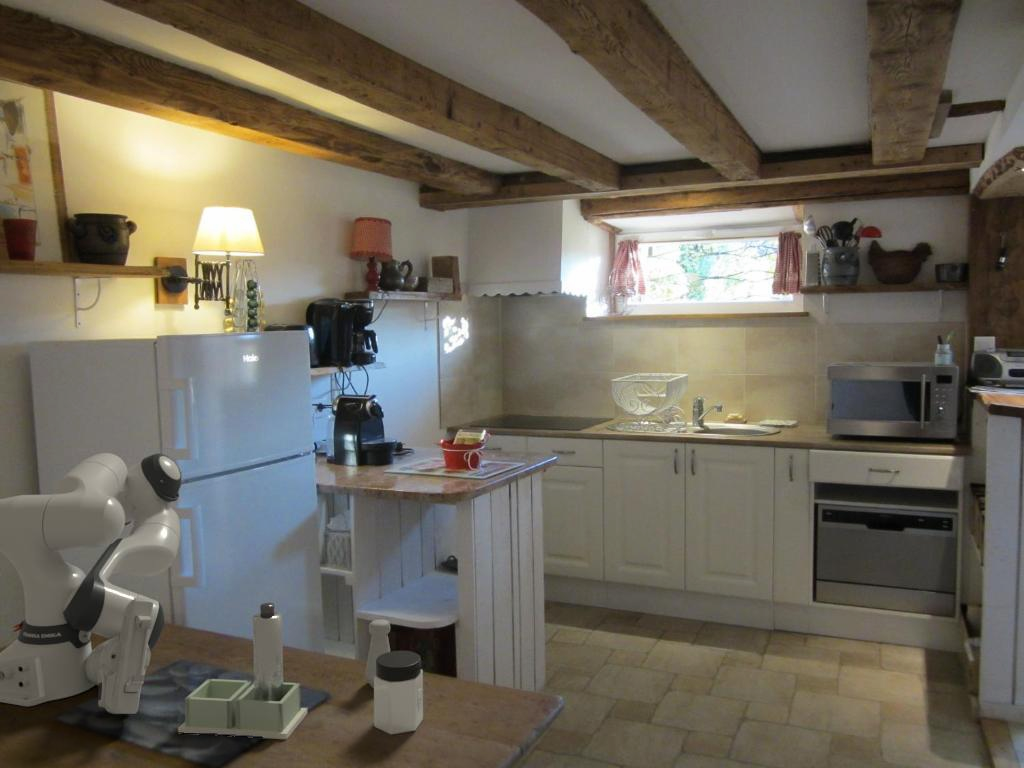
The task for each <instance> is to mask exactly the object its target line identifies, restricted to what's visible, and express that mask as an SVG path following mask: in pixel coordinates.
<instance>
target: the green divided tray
mask: <svg viewBox="0 0 1024 768" xmlns="http://www.w3.org/2000/svg"><path fill="white" fill-rule="evenodd" d="M301 686H302V685H301V683H300V682H286V681H285V682H284V681H283V698H282V699H281V701H261V700H255V698H254V683H253V680H244V679H243V680H242V679H241V680H239V679H222V678H221V679H220V678H208V679H206V680H205V681H204V682H203V683H201V685H199V686H197V688H196V689H194V690H193V691H192V692H191V693H190V694H188V695H187V696H186V697H185V698H184V717H185V718H184V721H183V723H181V724H180V725H179V726H178V727H177V733H178V732H184V733H217V734H229V735H230V734H236V735H250V736H251V735H252V736H262V737H263V738H262V739H271V740H272V739H277V740H287V739H289V737H291V735H292V733H294V731H295V730H296V729H297V727H298V726H299V724H301V722H302V721H303V720H304V718H305V717H306V715H308V707H301V705H302V704H301V703H302V702H301V701H302V697H301V694H302V693H301V690H302V689H301Z"/></svg>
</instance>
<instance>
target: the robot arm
mask: <svg viewBox="0 0 1024 768" xmlns="http://www.w3.org/2000/svg"><path fill="white" fill-rule="evenodd" d="M182 476H183V475H182V471H181V469H180V467H179V465H178V464H177V463H176V462H175V461H174V460H173V459H172V458H171V457H170V456H168V455H166V454H163V453H154V454H151V455H149V456H146V457H144V458H143V459H142V460H141V461H140V462H138V463H136V464H134V465H133V466H131V467H129V468H128V466H127V464H126V463H125V461H124V460H123V459H122V458H121V457H120V456H118V455H117V454H114V453H110V452H101V453H97V454H94V455H92V456H89V457H87V458H86V459H83V460H82V461H80V462H79V463H78V464H77V465H76V466H74V467H73V468H72V469H71V470H70V471H68V472H67V473H66V474H64V476H63V477H61V479H59V480H58V481H57V483H56V484H55V486H54V490H53V493H52V494H21V495H16V496H14V495H13V496H10V497H9V496H8V497H6V498H2V499H1V498H0V552H1V553H2V554H3V555H4V556H5V557H6V558H7V559H8V560H9V561H10V562H11V564H12V565H13V566H14V568H15V569H16V572H17V573H18V576H19V577H20V580H21V583H22V587H23V589H22V590H23V597H24V604H25V605H24V609H25V619H24V620H22V621H21V622H20V623H18V624H16V625H15V626H12V629H14V630H13V631H12V633H16V632H18V631H19V630H20V631H19V634H18V635H17V639H16V640H14V641H13V642H11V644H9V645H8V646H6V648H5V649H3V650H2V651H1V652H0V703H5V704H11V705H14V706H15V705H17V706H21V707H33V706H36V705H40V704H43V703H46V702H50V701H55V700H56V701H57V700H60V699H64V698H65V699H66V698H68V697H72V696H76V695H78V694H82V693H83V692H85V691H88V690H90V689H91V688H93V687H94V686H98V693H97V695H98V696H97V701H98V702H97V705H98V707H99V708H104V709H105V711H107V712H108V713H110V714H113V715H115V714H116V715H118V714H119V715H121V714H123V715H124V714H125V715H127V714H128V715H129V714H137V712H138V710H139V706H140V699H141V690H142V686H143V685H144V682H145V674H146V670H147V668H148V667H149V664H150V661H151V651H152V650H153V649H154V648H155V645H156V644H157V642H158V640H159V638H160V636H161V634H162V631H163V628H164V626H165V625H164V624H165V614H164V610H163V606H162V604H161V602H160V601H158V600H156V599H155V598H154V599H153V598H150V597H148V596H145V595H143V594H140V593H136V592H134V591H131V590H128V589H125V588H123V587H120V586H117V585H114V584H113V583H111V582H109V581H108V580H109V578H110V577H111V575H115V574H116V575H117V574H122V575H128V576H134V577H138V578H139V577H140V578H149V577H153V576H154V577H155V576H158V575H159V574H162V573H164V572H166V570H167V569H169V568H170V567H171V566H172V564H173V563H174V561H175V559H176V557H177V555H178V551H179V547H180V541H181V533H182V532H181V531H182V530H181V522H180V517H179V515H178V514H177V512H176V511H175V510H174V509H173V508H172V507H171V504H172V502H173V503H174V502H176V501H177V500H179V498H180V492H179V491H180V489H181V486H182V478H183V477H182ZM132 521H133V526H132V529H131V531H130V532H129V536H126V537H121V538H119V537H120V536H121V534H122V533H123V530H124V528H125V526H128V525H130V524H131V523H132ZM103 546H107V547H106V549H105V550H104V551H103V552H102V554H101V555H100V557H99V558H98V559H97V561H96V563H94V565H93V566H92V568H91V569H90V571H89V572H88V574H87V575H86V573H85V572H84V571H83V570H82V568H79V567H78V566H75V565H73V564H71V563H69V562H68V561H66V560H65V559H64V558H63V556H62V555H61V554H60V551H59V550H63V551H65V550H87V549H89V550H90V549H95V548H98V547H99V548H100V547H103ZM92 634H95V635H97V636H101V637H104V638H107V639H108V640H106V641H103V642H102V643H100V644H98V645H97V646H96V647H94V648H93V649H92Z"/></svg>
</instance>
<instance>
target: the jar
mask: <svg viewBox="0 0 1024 768" xmlns="http://www.w3.org/2000/svg"><path fill="white" fill-rule="evenodd" d="M423 674H424V670H423V669H422V658H421V655H419V654H418V653H416V652H414V651H411V650H393V651H390V652H387V653H384V654H382V655H380V656H379V657H378V658H377V659H376V675H375V676H374V688H373V719H374V720H373V726H374V727H375V728H377V729H378V730H380V731H383V732H385V733H387V734H389V735H396V734H403V733H409V732H414V731H416V730H417V728H419V726H420V724H422V721H423V719H424V686H423V685H424V681H423V680H424V679H423V678H424V675H423Z"/></svg>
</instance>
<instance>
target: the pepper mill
mask: <svg viewBox="0 0 1024 768" xmlns="http://www.w3.org/2000/svg"><path fill="white" fill-rule="evenodd" d="M259 606H260V607H259V609H260V612H257V613H256V614H254V615H253V616H252V630H253V631H252V634H253V637H252V639H253V642H252V643H253V684H254V698H255V700H261V701H281V699H282V698H283V682H284V665H283V664H284V659H283V653H284V652H283V614H282V612H280V611H275V604H274V603H272V602H265V603H262V604H260V605H259Z"/></svg>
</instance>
